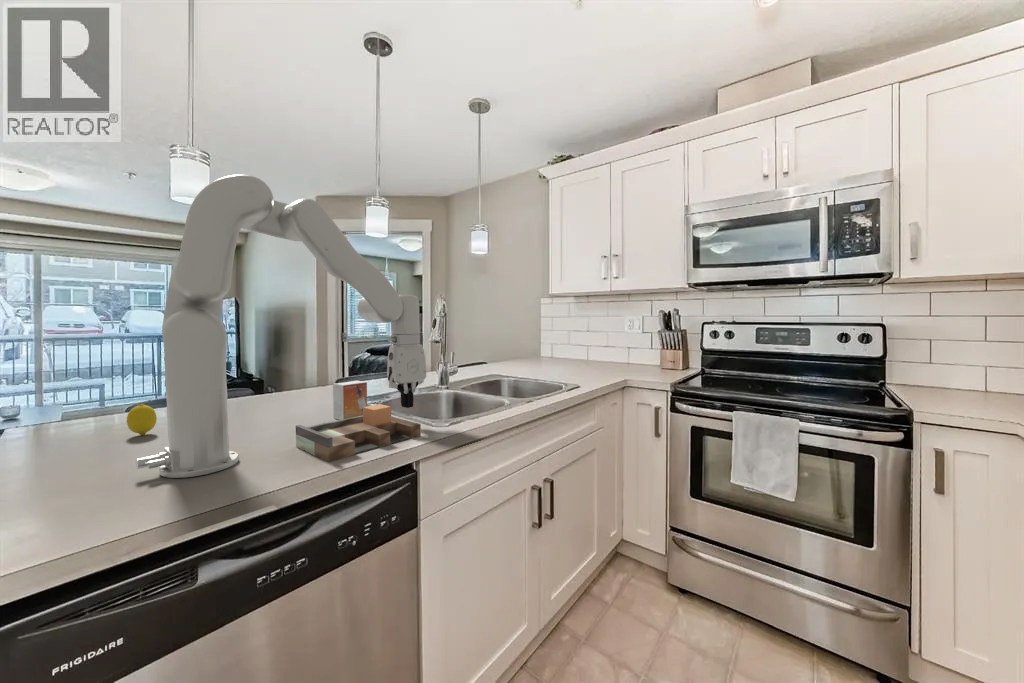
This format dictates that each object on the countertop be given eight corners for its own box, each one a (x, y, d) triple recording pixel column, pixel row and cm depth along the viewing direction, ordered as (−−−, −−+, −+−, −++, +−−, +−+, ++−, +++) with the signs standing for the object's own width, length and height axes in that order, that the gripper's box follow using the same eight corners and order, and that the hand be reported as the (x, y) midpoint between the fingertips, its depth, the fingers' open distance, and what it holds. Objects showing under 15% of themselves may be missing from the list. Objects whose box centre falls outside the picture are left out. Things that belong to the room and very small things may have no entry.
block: (374, 425, 101) (373, 410, 100) (363, 422, 104) (362, 407, 104) (391, 421, 105) (391, 406, 104) (380, 418, 108) (379, 403, 107)
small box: (343, 421, 116) (342, 385, 116) (332, 418, 120) (332, 383, 119) (368, 416, 123) (367, 381, 122) (357, 413, 126) (356, 379, 125)
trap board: (328, 461, 84) (327, 438, 84) (296, 446, 94) (295, 425, 93) (420, 435, 103) (420, 416, 103) (386, 425, 112) (386, 407, 112)
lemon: (143, 438, 99) (141, 406, 99) (121, 438, 99) (119, 406, 99) (163, 432, 105) (161, 401, 104) (142, 431, 105) (140, 401, 104)
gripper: (390, 342, 102) (392, 414, 103) (436, 339, 113) (437, 403, 115) (373, 341, 107) (375, 410, 108) (419, 338, 118) (420, 400, 119)
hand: (407, 406), depth 111 cm, fingers closed
